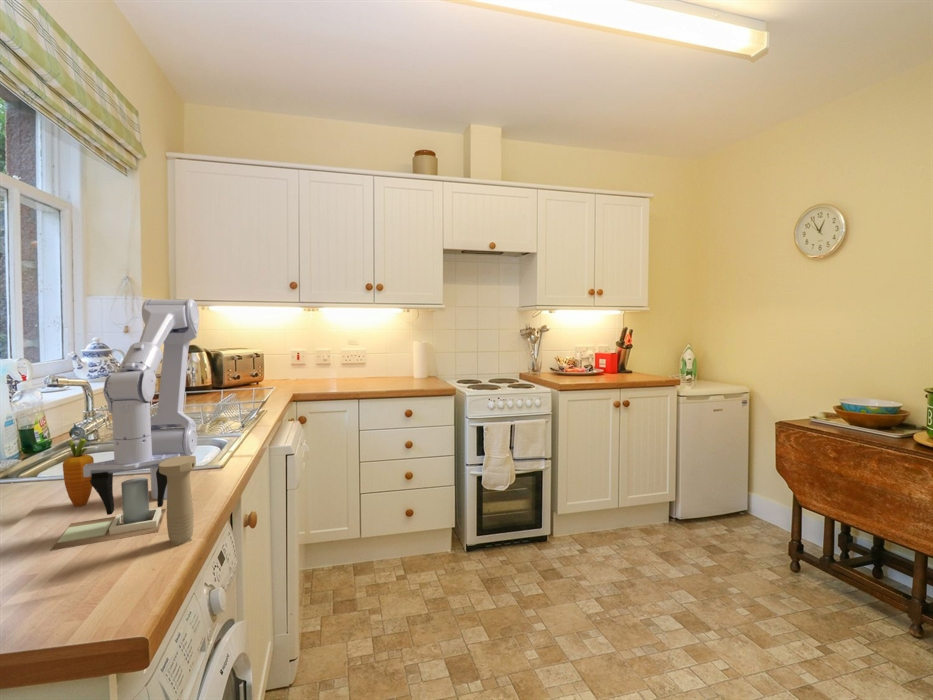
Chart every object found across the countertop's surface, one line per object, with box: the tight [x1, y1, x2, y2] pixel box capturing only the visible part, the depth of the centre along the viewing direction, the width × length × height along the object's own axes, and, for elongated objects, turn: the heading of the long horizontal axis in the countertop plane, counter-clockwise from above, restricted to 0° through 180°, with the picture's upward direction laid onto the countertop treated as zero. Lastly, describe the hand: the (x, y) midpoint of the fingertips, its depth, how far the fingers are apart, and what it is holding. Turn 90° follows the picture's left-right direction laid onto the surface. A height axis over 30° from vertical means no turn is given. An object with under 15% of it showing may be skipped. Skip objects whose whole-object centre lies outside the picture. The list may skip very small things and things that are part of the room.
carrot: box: [62, 438, 95, 507], centre depth 98 cm, size 5×5×15 cm
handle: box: [159, 455, 197, 546], centre depth 81 cm, size 5×6×15 cm
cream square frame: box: [109, 507, 162, 535], centre depth 89 cm, size 7×7×1 cm
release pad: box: [56, 521, 112, 543], centre depth 85 cm, size 6×6×1 cm
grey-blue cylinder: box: [120, 477, 150, 525], centre depth 88 cm, size 4×4×8 cm
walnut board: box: [49, 508, 167, 552], centre depth 87 cm, size 12×15×1 cm
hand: (136, 508), depth 88 cm, fingers open, 7 cm apart
